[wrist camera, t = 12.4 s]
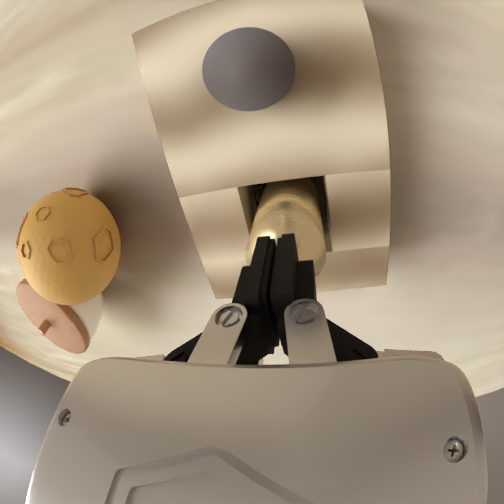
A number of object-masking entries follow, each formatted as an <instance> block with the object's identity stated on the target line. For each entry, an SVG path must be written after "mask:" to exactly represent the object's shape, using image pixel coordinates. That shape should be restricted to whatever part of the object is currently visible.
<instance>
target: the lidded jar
mask: <svg viewBox="0 0 504 504" xmlns="http://www.w3.org/2000/svg"><path fill="white" fill-rule="evenodd" d="M16 293H17V298H18V301H19V303H20V305H21V307H22V309H23V311H24V313H25V314H26V316H27V317H28V319H29V320H30V321H31V322H32V324H33V325H34V326H35V327H36V328H37V330H38V331H39V333H40V334H42V335H43V336H45V337H46V338H47V339H49V340H50V341H51V342H53V343H54V344H56V345H57V346H59V347H61V348H62V349H64V350H66V351H69V352H72V353H76V354H80V353H83V352H85V351H86V349H87V348H88V346H89V343H90V341H91V339H92V338H93V336H94V334H95V332H96V330H97V328H98V326H99V323H100V320H101V317H102V312H103V299H102V294H101V293H100V294H99V295H98V296H96V297H95V298H93V299H91V300H89V301H87V302H85V303H81V304H77V305H61V304H57V303H54V302H51V301H49V300H47V299H45V298H44V297H42V296H40V295H39V294H38V293H37V292H36V291H35V290H34V289H33V288H32V287H31V286H30V284H29V283H28V282H27V280H26V278H25V279H23V280H22V281H21V282H20V283H19V284H18V286H17V292H16Z"/></svg>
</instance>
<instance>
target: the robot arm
mask: <svg viewBox="0 0 504 504" xmlns="http://www.w3.org/2000/svg"><path fill="white" fill-rule="evenodd" d="M279 340H281V345H282V346H283V351H284V353H285V354H286V355H287V356H288V357H289V364H286V365H263V357H265V356H266V355H267V354H274V348H275V347H276V346H279ZM454 447H455V449H454ZM26 504H487V463H486V451H485V442H484V434H483V429H482V424H481V419H480V414H479V410H478V406H477V402H476V399H475V396H474V393H473V390H472V388H471V385H470V383H469V381H468V379H467V378H466V376H465V374H464V373H463V372H462V371H461V370H460V369H459V368H458V367H457V366H456V365H454V364H452V363H450V362H447V361H444V359H443V358H442V356H441V355H439V354H438V353H436V352H432V351H412V350H392V349H385V350H384V352H381V351H375V349H374V348H372V347H371V346H370V345H368V344H367V343H365V342H363V341H362V340H360V339H358V338H357V337H355V336H354V335H352V334H350V333H349V332H347V331H346V330H344V329H343V328H341V327H339V326H338V325H336V324H335V323H333V322H331V321H330V320H328V319H327V318H326V316H325V313H324V309H323V307H322V305H321V304H320V303H319V302H318V301H317V300H316V281H315V270H314V262H313V260H304V261H299V259H298V252H297V246H296V240H295V234H294V233H289V234H282V238H278V239H277V246H276V242H275V239H274V238H272V239H271V238H270V236H262V237H257V240H256V244H255V248H254V252H253V256H252V260H251V264H250V266H243V267H242V269H241V272H240V276H239V279H238V283H237V286H236V290H235V293H234V297H233V300H232V303H229V304H226V305H223V306H221V307H219V308H218V309H217V310H215V311H214V313H213V314H212V316H211V318H210V320H209V322H208V323H207V325H206V327H205V329H204V331H203V332H202V333H200V334H199V335H197V336H196V337H194V338H193V339H191V340H189V341H188V342H186V343H185V344H183V345H181V346H180V347H178V348H177V349H175V350H173V351H172V352H171V353H169V354H168V355H167V357H165V355H164V354H162V355H155V356H146V357H137V358H129V357H109V358H102V359H98V360H94V361H91V362H89V363H87V364H85V365H84V366H83V367H82V368H81V369H80V370H79V371H78V372H77V374H76V375H75V377H74V378H73V380H72V381H71V383H70V385H69V387H68V389H67V390H66V392H65V394H64V396H63V398H62V400H61V402H60V404H59V406H58V408H57V410H56V412H55V415H54V417H53V419H52V421H51V424H50V426H49V428H48V431H47V433H46V436H45V438H44V441H43V444H42V447H41V449H40V452H39V455H38V458H37V461H36V465H35V468H34V471H33V475H32V478H31V482H30V486H29V490H28V494H27V499H26Z"/></svg>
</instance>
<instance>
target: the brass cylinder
mask: <svg viewBox="0 0 504 504" xmlns="http://www.w3.org/2000/svg"><path fill="white" fill-rule="evenodd" d="M289 233H294V234H295V240H296V246H297V252H298V259H299V261H304V260H313V262H314V270H315V278H316V277H317V276H318V275H319V274H320V273H321V271H322V270H323V268H324V265H325V262H326V247H325V240H324V233H323V226H322V219H321V213H320V206H319V200H318V194H317V189H316V186H315V184H314V182H313V181H312V179H311V178H310V177H305V178H297V179H289V180H282V181H274V182H267V183H266V184H265V187H264V190H263V193H262V196H261V200H260V203H259V206H258V209H257V212H256V216H255V219H254V222H253V225H252V229H251V232H250V235H249V238H248V242H247V245H246V250H245V257H246V262H247V264H248V266H250V264H251V260H252V256H253V252H254V248H255V244H256V240H257V237H262V236H270V238H271V239H272V238H274V239H275V242H276V246H277V239H278V238H282V234H289Z"/></svg>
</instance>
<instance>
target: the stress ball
mask: <svg viewBox="0 0 504 504" xmlns="http://www.w3.org/2000/svg"><path fill="white" fill-rule="evenodd" d="M16 248H18V258H19V263H20V267H21V270H22V272H23V275H24V276H25V278H26V280H27V282H28V283H29V284H30V286H31V287H32V288H33V289H34V290H35V291H36V292H37V293H38V294H39V295H40V296H42V297H44V298H45V299H47V300H49V301H51V302H54V303H57V304H61V305H77V304H81V303H85V302H87V301H89V300H91V299H93V298H95V297H96V296H98V295H99V294H100V293H101V292H102V291H103V290H104V289H105V288H106V287H107V286H108V285H109V283H110V282H111V280H112V278H113V277H114V275H115V273H116V270H117V267H118V264H119V260H120V254H121V241H120V234H119V230H118V226H117V224H116V222H115V219H114V217H113V216H112V214H111V212H110V211H109V210H108V208H107V207H106V206H105V205H104V204H103V203H102V202H101V201H100V200H99V199H97V198H96V197H94V196H92V195H90V194H88V192H87V191H85V190H83V189H78V188H64V189H62V190H60V191H57V192H53V193H51V194H49V195H47V196H45V197H43V198H42V199H41V200H39V201H38V202H37V203H36V204H35V205H34V206H33V207H32V208H31V209H30V211H29V212H28V213H26V214H25V215H24V217H23V221H22V224H21V227H20V230H19V233H18V238H17V241H16Z"/></svg>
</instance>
